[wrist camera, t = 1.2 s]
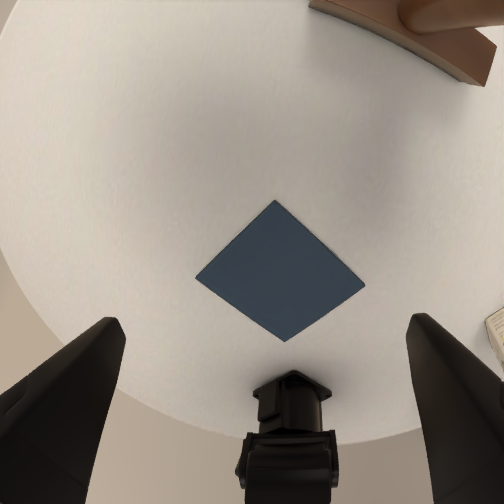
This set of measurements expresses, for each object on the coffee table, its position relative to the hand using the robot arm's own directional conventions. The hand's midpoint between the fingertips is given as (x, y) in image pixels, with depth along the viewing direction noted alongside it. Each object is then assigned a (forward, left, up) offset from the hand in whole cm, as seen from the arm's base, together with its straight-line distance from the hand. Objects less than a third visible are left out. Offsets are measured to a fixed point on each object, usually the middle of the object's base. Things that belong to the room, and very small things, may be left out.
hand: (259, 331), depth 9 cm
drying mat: (-6, +5, -14) cm, 16 cm away
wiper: (+2, -14, -14) cm, 19 cm away
